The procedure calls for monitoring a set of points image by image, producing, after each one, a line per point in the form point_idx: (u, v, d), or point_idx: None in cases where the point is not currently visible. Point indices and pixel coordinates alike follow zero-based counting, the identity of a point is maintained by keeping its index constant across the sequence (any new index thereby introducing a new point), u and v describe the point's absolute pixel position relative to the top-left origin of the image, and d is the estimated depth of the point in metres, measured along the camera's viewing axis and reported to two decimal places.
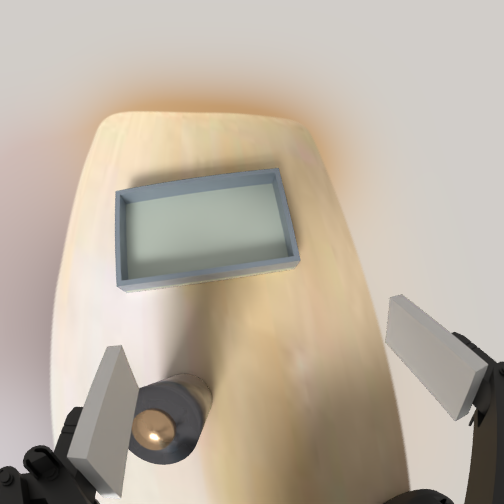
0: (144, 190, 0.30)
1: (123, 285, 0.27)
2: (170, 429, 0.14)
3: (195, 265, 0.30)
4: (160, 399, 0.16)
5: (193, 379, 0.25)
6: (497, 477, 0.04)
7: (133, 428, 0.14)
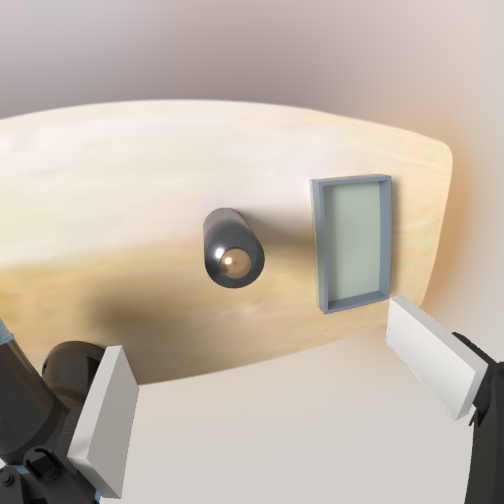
0: (388, 200, 0.36)
1: (318, 187, 0.35)
2: (238, 276, 0.25)
3: (327, 237, 0.39)
4: (255, 263, 0.26)
5: None
6: (497, 477, 0.04)
7: (236, 251, 0.25)
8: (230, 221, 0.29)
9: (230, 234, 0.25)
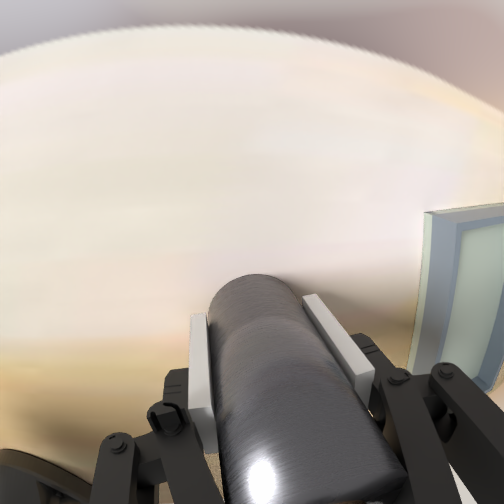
0: None
1: (455, 234, 0.14)
2: None
3: None
4: None
5: None
6: (417, 496, 0.05)
7: None
8: (298, 374, 0.08)
9: (329, 488, 0.05)
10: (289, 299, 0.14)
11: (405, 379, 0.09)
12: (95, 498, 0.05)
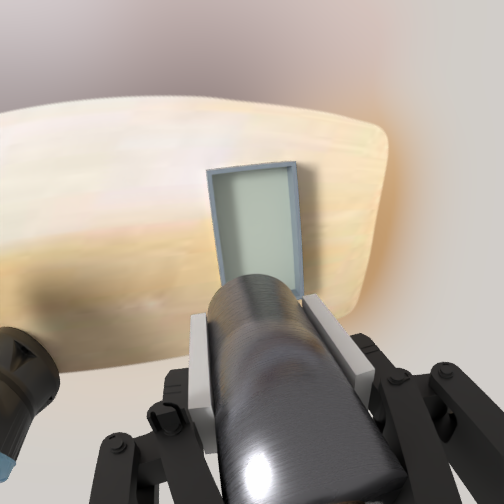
0: (293, 188, 0.35)
1: (207, 176, 0.33)
2: None
3: (227, 230, 0.37)
4: None
5: None
6: (417, 496, 0.05)
7: None
8: (297, 373, 0.08)
9: (328, 489, 0.05)
10: (288, 298, 0.14)
11: (405, 379, 0.09)
12: (95, 498, 0.05)
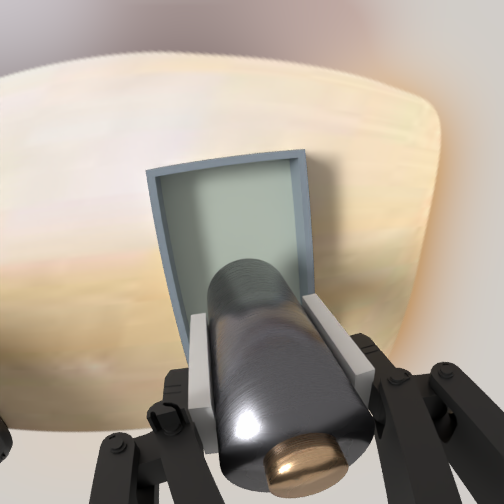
0: (301, 197, 0.20)
1: (148, 180, 0.18)
2: (309, 493, 0.07)
3: (191, 267, 0.22)
4: (349, 450, 0.08)
5: None
6: (417, 496, 0.05)
7: (316, 460, 0.07)
8: (279, 329, 0.11)
9: (299, 411, 0.07)
10: (276, 278, 0.16)
11: (405, 379, 0.09)
12: (95, 498, 0.05)
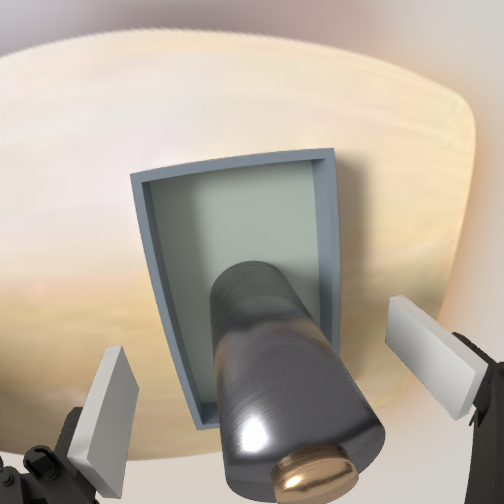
0: (328, 209, 0.16)
1: (133, 186, 0.14)
2: None
3: (189, 293, 0.18)
4: (358, 460, 0.08)
5: None
6: (497, 477, 0.04)
7: (327, 473, 0.06)
8: (286, 336, 0.10)
9: (309, 424, 0.07)
10: (281, 281, 0.16)
11: None
12: None
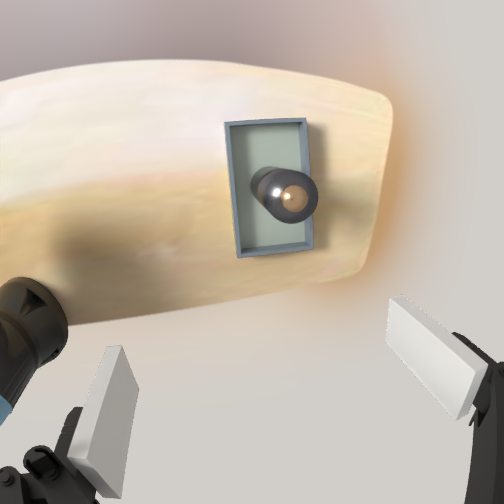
0: (304, 142, 0.37)
1: (225, 127, 0.35)
2: (295, 210, 0.28)
3: (241, 179, 0.39)
4: (310, 202, 0.29)
5: None
6: (497, 477, 0.04)
7: (296, 186, 0.27)
8: None
9: (290, 173, 0.28)
10: None
11: None
12: None
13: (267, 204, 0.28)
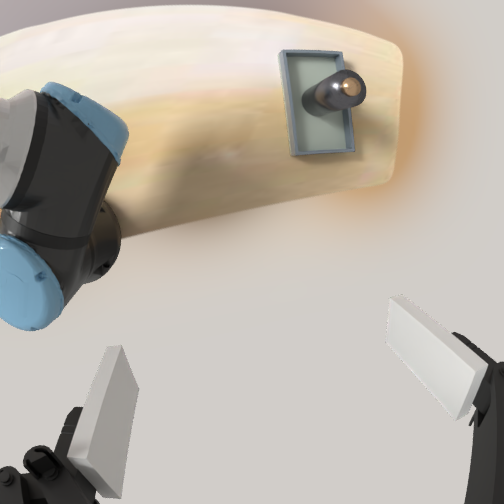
0: (342, 69, 0.42)
1: (282, 53, 0.40)
2: (353, 94, 0.33)
3: (294, 95, 0.44)
4: (361, 92, 0.34)
5: None
6: (497, 477, 0.04)
7: (352, 78, 0.32)
8: None
9: (346, 71, 0.33)
10: None
11: None
12: None
13: (332, 90, 0.33)
